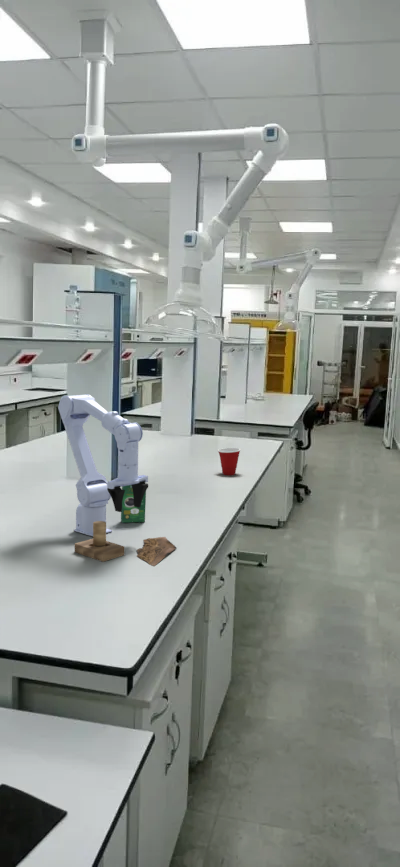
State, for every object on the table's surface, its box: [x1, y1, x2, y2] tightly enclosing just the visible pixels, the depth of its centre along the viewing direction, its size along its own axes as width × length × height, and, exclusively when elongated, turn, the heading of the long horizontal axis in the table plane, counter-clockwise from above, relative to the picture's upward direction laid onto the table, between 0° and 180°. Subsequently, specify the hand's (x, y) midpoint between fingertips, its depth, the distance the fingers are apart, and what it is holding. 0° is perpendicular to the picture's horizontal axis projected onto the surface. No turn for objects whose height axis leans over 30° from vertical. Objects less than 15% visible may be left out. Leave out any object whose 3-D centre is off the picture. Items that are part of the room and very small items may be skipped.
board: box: [74, 538, 125, 563], centre depth 184 cm, size 12×8×2 cm, turn 50°
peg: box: [92, 521, 107, 549], centre depth 183 cm, size 4×4×9 cm
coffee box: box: [120, 485, 147, 524], centre depth 217 cm, size 8×3×13 cm, turn 104°
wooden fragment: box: [136, 536, 177, 567], centre depth 188 cm, size 26×11×1 cm, turn 175°
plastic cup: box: [217, 447, 242, 476], centre depth 301 cm, size 11×11×12 cm
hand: (127, 509), depth 193 cm, fingers open, 7 cm apart
